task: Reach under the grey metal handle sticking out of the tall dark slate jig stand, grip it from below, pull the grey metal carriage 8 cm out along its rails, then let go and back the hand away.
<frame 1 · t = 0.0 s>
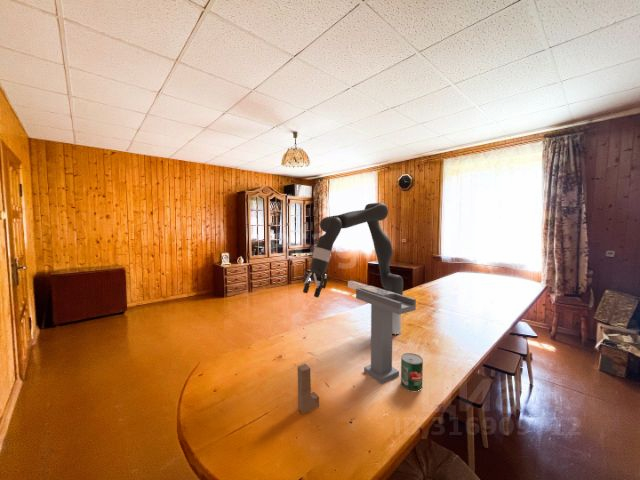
hand: (310, 294, 114), 31 cm above the table, tool tilted 20°, fingers open, 8 cm apart
carriage: (367, 289, 114), point 34 cm above the table, slide at 0.0 cm
canned tomato: (411, 386, 101), on the table
l-shaped bracket: (308, 408, 89), on the table
jig stand: (381, 373, 109), on the table
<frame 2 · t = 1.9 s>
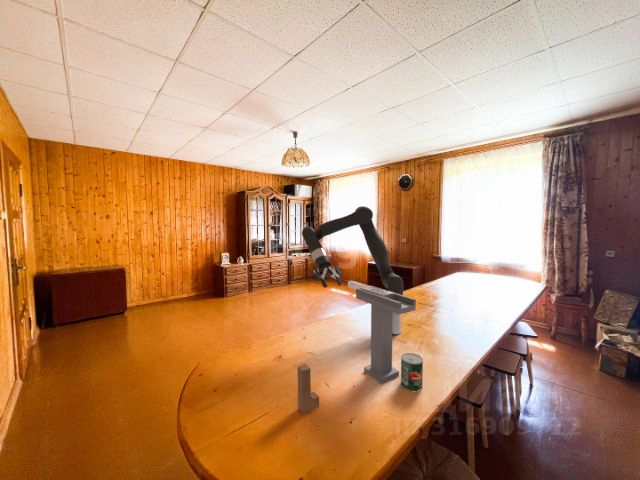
hand: (333, 286, 126), 32 cm above the table, tool tilted 45°, fingers open, 8 cm apart
nothing on the table moved.
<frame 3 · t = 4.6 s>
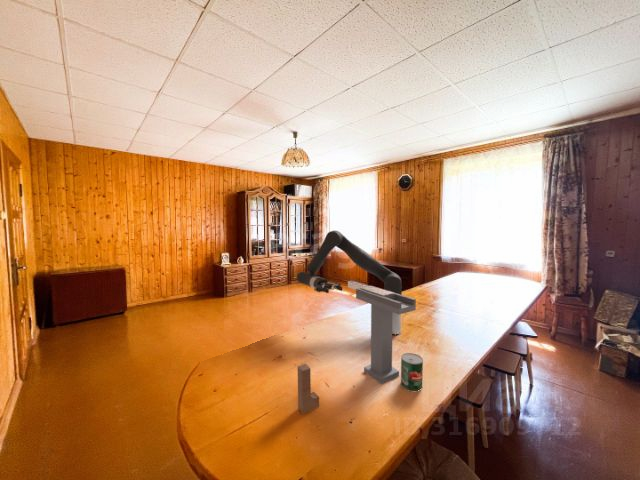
hand: (335, 289, 135), 28 cm above the table, tool horizontal, fingers open, 8 cm apart
nothing on the table moved.
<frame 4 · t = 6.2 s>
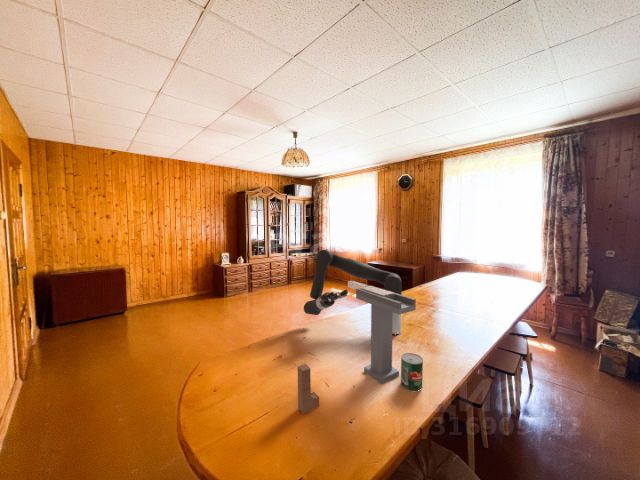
hand: (340, 292, 132), 28 cm above the table, tool pointing upward, fingers open, 8 cm apart
nothing on the table moved.
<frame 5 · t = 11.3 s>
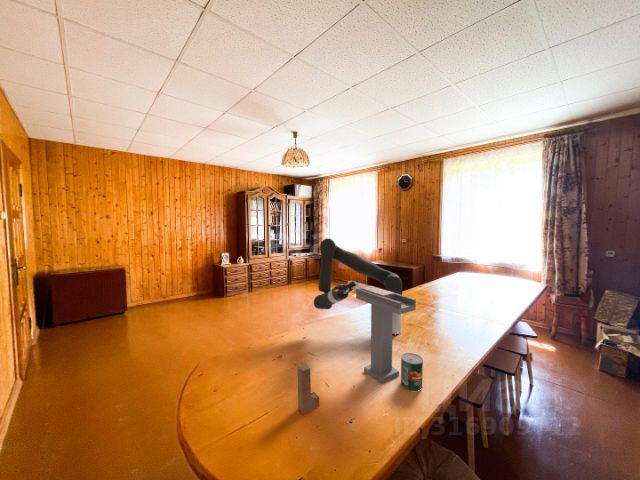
hand: (356, 283, 120), 35 cm above the table, tool pointing upward, fingers closed on carriage, 2 cm apart
carriage: (367, 289, 114), point 34 cm above the table, slide at 0.0 cm, touching gripper
everything else where it was.
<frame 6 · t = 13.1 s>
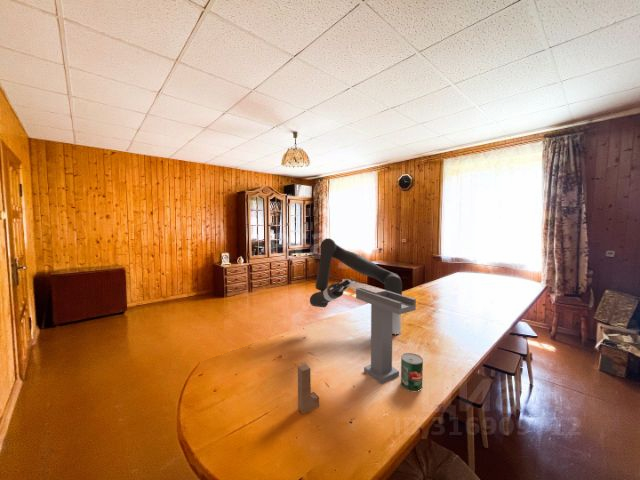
hand: (350, 281, 124), 35 cm above the table, tool pointing upward, fingers closed on carriage, 2 cm apart
carriage: (361, 287, 117), point 34 cm above the table, slide at 4.3 cm, touching gripper
everything else where it was.
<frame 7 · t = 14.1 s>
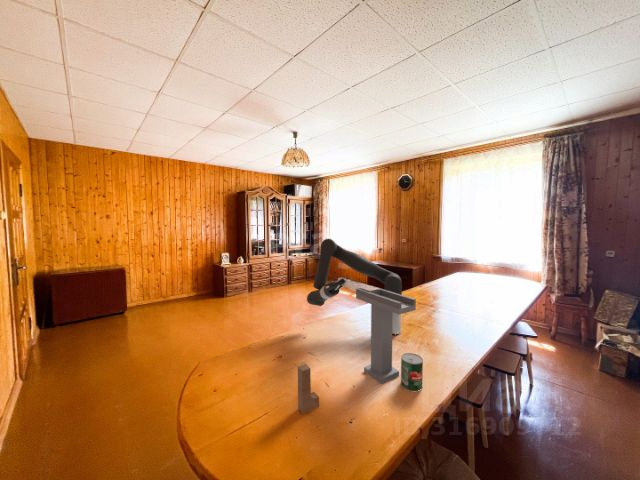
hand: (346, 279, 127), 35 cm above the table, tool pointing upward, fingers closed on carriage, 2 cm apart
carriage: (356, 285, 120), point 34 cm above the table, slide at 7.8 cm, touching gripper
everything else where it was.
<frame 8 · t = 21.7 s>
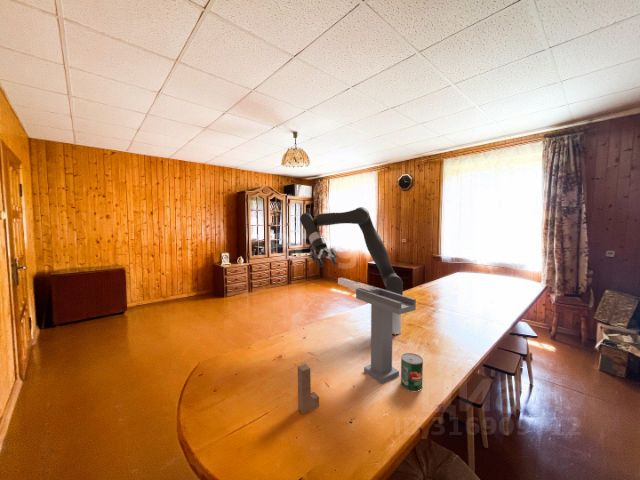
hand: (329, 265, 137), 41 cm above the table, tool tilted 45°, fingers open, 8 cm apart
carriage: (355, 285, 121), point 34 cm above the table, slide at 8.0 cm
everything else where it was.
at the end: carriage slide at 8.0 cm; the gripper is holding nothing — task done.
